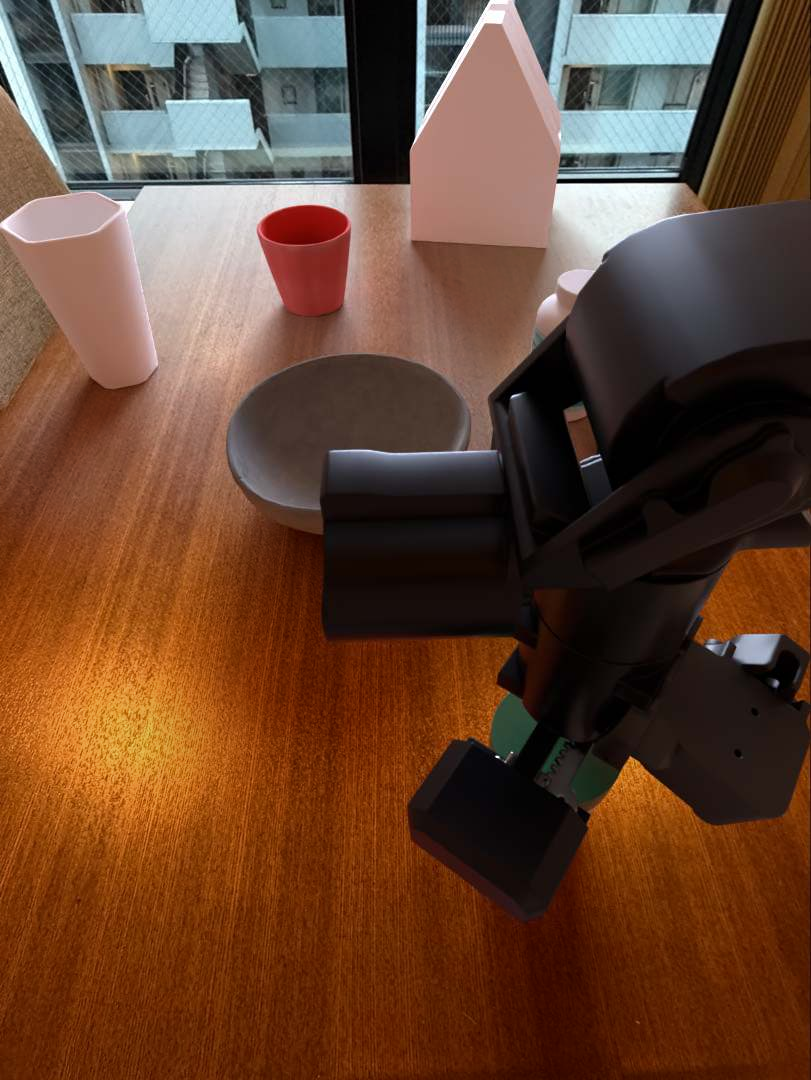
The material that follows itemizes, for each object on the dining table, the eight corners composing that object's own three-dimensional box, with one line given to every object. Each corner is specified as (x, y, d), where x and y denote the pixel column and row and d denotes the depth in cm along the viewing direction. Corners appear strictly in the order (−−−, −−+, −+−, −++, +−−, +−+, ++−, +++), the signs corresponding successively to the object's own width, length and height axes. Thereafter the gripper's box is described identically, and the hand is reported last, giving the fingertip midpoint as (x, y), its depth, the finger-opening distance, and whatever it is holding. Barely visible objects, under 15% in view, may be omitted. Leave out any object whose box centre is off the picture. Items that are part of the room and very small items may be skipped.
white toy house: (410, 240, 94) (408, 21, 75) (426, 195, 103) (427, -8, 84) (546, 248, 91) (580, 24, 72) (549, 201, 101) (579, -6, 82)
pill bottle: (509, 404, 69) (525, 283, 59) (549, 373, 72) (571, 253, 62) (569, 435, 66) (597, 312, 55) (608, 401, 69) (641, 279, 59)
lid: (460, 750, 35) (462, 735, 34) (539, 671, 38) (544, 654, 37) (564, 847, 32) (571, 835, 30) (641, 752, 35) (651, 738, 33)
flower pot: (337, 330, 79) (329, 250, 71) (256, 315, 81) (240, 237, 74) (369, 287, 85) (364, 210, 78) (292, 275, 88) (281, 199, 80)
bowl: (421, 606, 52) (421, 542, 46) (197, 540, 57) (170, 474, 51) (491, 440, 65) (499, 373, 59) (303, 398, 70) (292, 332, 64)
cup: (108, 338, 78) (46, 187, 65) (187, 347, 77) (139, 194, 64) (58, 395, 71) (-23, 238, 58) (144, 405, 70) (80, 247, 57)
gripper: (757, 1004, 16) (613, 1043, 28) (901, 534, 26) (748, 711, 38) (393, 750, 20) (402, 877, 32) (633, 429, 30) (572, 618, 42)
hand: (547, 761), depth 36 cm, fingers closed on lid, 7 cm apart
